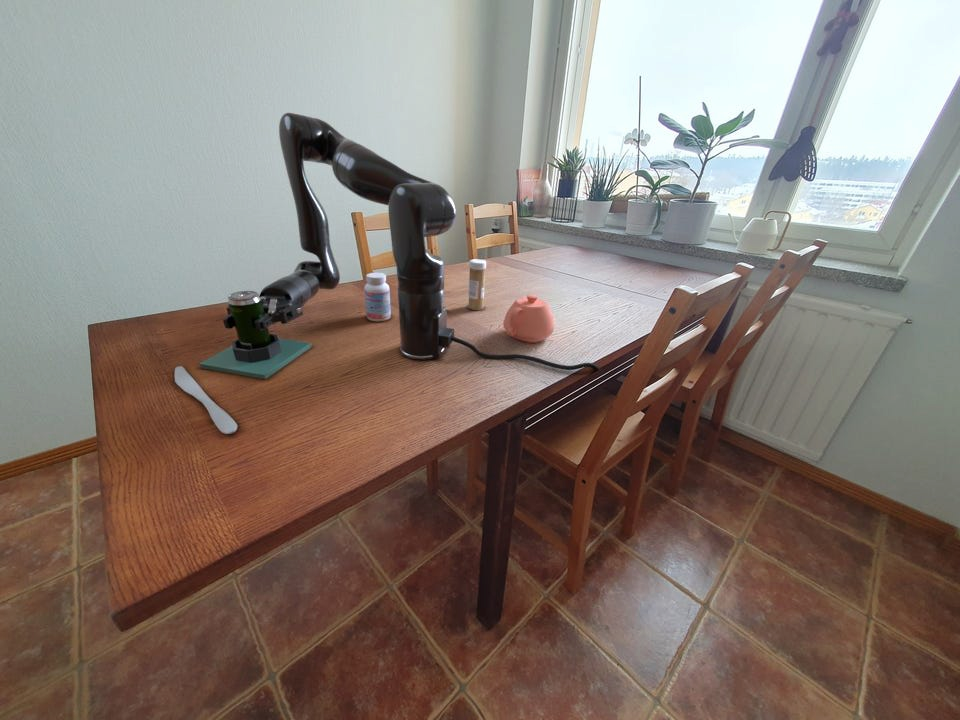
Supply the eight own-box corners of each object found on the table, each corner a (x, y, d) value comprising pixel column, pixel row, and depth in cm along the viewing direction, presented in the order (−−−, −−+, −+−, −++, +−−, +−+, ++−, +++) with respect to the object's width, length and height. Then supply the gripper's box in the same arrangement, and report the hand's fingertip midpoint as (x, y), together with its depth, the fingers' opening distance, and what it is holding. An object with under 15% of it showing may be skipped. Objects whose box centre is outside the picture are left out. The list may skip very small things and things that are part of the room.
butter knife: (217, 436, 53) (239, 426, 55) (166, 370, 69) (185, 363, 71) (218, 439, 54) (241, 429, 56) (167, 372, 69) (186, 366, 71)
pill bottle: (362, 319, 95) (357, 276, 90) (376, 311, 100) (373, 270, 95) (382, 323, 93) (378, 279, 88) (395, 316, 98) (393, 273, 93)
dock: (311, 347, 80) (309, 332, 79) (265, 379, 68) (261, 363, 67) (254, 338, 83) (251, 323, 81) (200, 368, 71) (194, 351, 69)
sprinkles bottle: (486, 309, 106) (489, 261, 100) (473, 311, 104) (475, 263, 98) (477, 304, 110) (480, 258, 103) (464, 306, 107) (466, 259, 101)
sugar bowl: (561, 336, 92) (568, 297, 87) (528, 353, 83) (533, 310, 78) (522, 321, 99) (526, 284, 95) (487, 336, 90) (490, 295, 85)
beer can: (265, 359, 73) (250, 300, 67) (237, 357, 73) (219, 299, 67) (278, 346, 78) (265, 291, 72) (252, 345, 77) (236, 289, 72)
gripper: (251, 277, 83) (197, 303, 68) (316, 281, 82) (275, 309, 68) (259, 309, 86) (209, 340, 71) (321, 313, 86) (283, 346, 71)
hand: (242, 325), depth 69 cm, fingers closed on beer can, 5 cm apart
